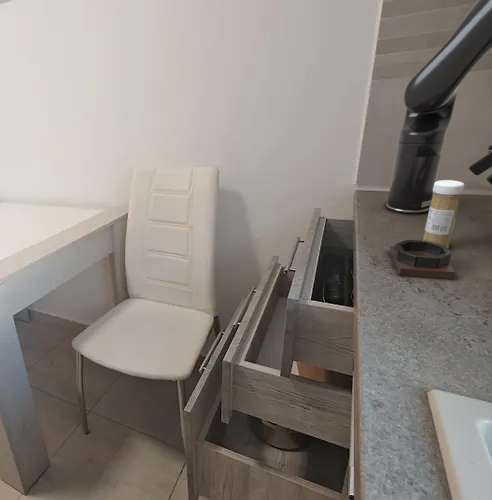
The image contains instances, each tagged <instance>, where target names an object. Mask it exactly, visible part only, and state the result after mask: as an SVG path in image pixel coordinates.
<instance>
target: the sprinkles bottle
mask: <svg viewBox="0 0 492 500" xmlns="http://www.w3.org/2000/svg"><path fill="white" fill-rule="evenodd" d="M464 189H465V183H464V182H463V181H459V180H453V179H441V180H436V182H435V183H434V187H433V196H432V201H431V205H430V209H429V211H428V215H427V219H426V222H425V227H424V233H423V238H422V240H425V241H431V242H434V243H437V244H441V245H444V246H446V247H447V248H448V249H449V248H450V241H451V237H452V233H453V230H454V226H455V223H456V216H457V212H458V207H459V204H460V200H461V196H462V194H463V193H464Z"/></svg>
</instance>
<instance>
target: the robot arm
mask: <svg viewBox="0 0 492 500" xmlns="http://www.w3.org/2000/svg"><path fill="white" fill-rule="evenodd" d="M491 49H492V0H477V1H476V2H475V3H474V5H473V6H472V7H471V8H470V9H469V11H468V13H467V14H466V15H465V17H464V18H463V19H462V21H461V22H460V24H459V25H458V26H457V28H456V29H455V30H454V32H453V33H452V34H451V36H450V37H449V38H448V40H447V41H446V42H445V43H444V44H443V46H442V47H441V48H440V49H439V50H438V51H437V52H436V53H435V54H434V55H433V56H432V57H431V58H430V60H429V61H428V62H427V63H426V64H425V65H424V66H422V68H421V69H419V71H418V72H416V73H415V75H413V76H412V77H411V78H410V80H409V81H408V83H407V84H406V85H405V87H404V91H403V94H402V95H403V96H402V98H403V99H402V100H403V104H404V106H405V107H406V109H405V114H404V118H403V122H402V125H401V127H400V129H399V130H400V131H398V132H399V133H398V138H397V144H396V150H395V157H394V161H393V162H394V163H393V167H392V173H391V179H390V180H391V181H390V186H389V191H388V197H387V202H386V209H388V210H390V211H392V212H396V213H402V214H423V213H429V209H430V205H431V201H432V197H433V187H434V183H435V182H437V178H438V173H439V170H440V165H441V160H442V154H443V150H444V146H445V142H446V137H447V134H448V131H449V127H450V125H451V120H452V116H453V114H454V113H453V112H454V108H455V104H456V101H457V96H458V90H459V86H460V84H461V83H462V82H463V80H464V79H465V78H466V77H467V75H468V74H469V73H470V72H471V70H472V69H473V68H474V67H475V66H476V65H477V63H478V62H479V61H480V60H481V59H482V58H483V57H484V56H486V54H488V52H489V51H490V50H491ZM487 149H488V152H487V154H486V155H485V156H483V157H482V158H480V159H478V160H477V161H475V162H474V163H473V164H471V165H470V166H469V167H468V170H469V171H470V172H471V173H472V174H474V175H475V176H480V175H481V174H483V173H484V172H486V171H487V170H489V169H490V168H492V144H491V145H489V146H488V147H487ZM486 181H487V182H488V183H489V184H490V185H491V186H492V174H490V175H488V176H487V177H486Z"/></svg>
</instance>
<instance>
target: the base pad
mask: <svg viewBox="0 0 492 500" xmlns="http://www.w3.org/2000/svg"><path fill="white" fill-rule="evenodd" d="M389 255H390V258H391V259H392V262H393V264H394V267H395V269H396V272H397V273H398V276H400V277H401V276H403V277H414V278H415V277H416V278H417V277H418V278H427V279H429V278H430V279H440V280H454V279H455V275H456V271H455V269H454V268H453V266H452V265H451V264H450V261H451V257H452V252H451V250H450V249H449V247H448V248H447V247H446V246H444V245H441V244H437V243H434V242H431V241H425V240H423V239H421V240H420V239H405V240H402V241H400V242H397V243H395V245H390V247H389Z"/></svg>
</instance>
